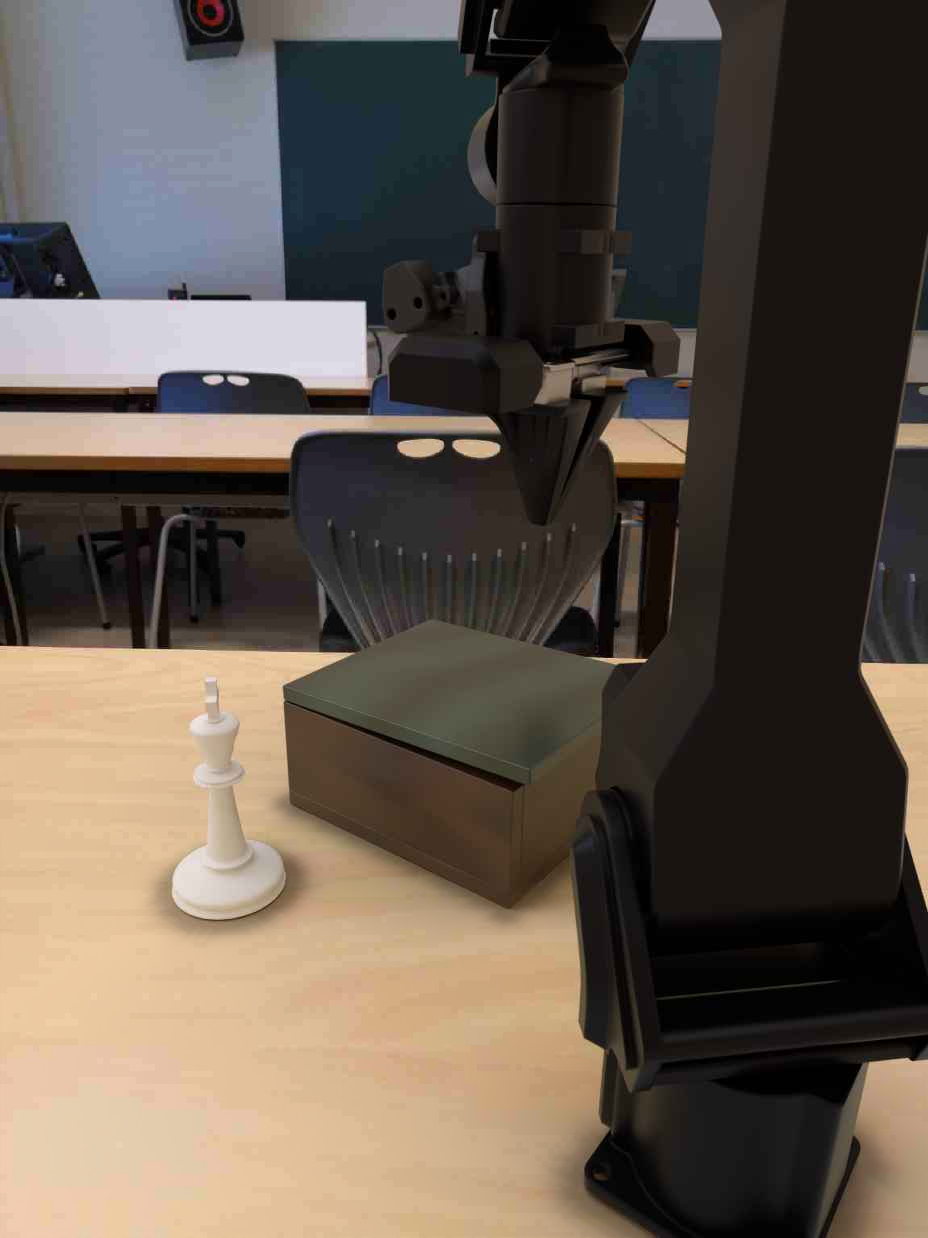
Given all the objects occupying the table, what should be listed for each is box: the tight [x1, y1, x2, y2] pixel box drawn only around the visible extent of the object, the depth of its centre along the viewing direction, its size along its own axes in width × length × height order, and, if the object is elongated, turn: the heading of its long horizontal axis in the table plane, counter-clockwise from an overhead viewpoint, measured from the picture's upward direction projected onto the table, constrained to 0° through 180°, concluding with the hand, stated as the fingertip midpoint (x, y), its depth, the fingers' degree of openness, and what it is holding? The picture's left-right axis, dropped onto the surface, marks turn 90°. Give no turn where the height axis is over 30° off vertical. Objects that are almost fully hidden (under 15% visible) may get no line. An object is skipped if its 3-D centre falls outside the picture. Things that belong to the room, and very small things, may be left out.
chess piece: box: [171, 676, 287, 920], centre depth 40 cm, size 5×5×10 cm
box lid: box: [282, 618, 617, 786], centre depth 46 cm, size 14×12×1 cm
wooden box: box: [283, 700, 601, 909], centre depth 47 cm, size 14×12×6 cm
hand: (541, 523), depth 50 cm, fingers closed
